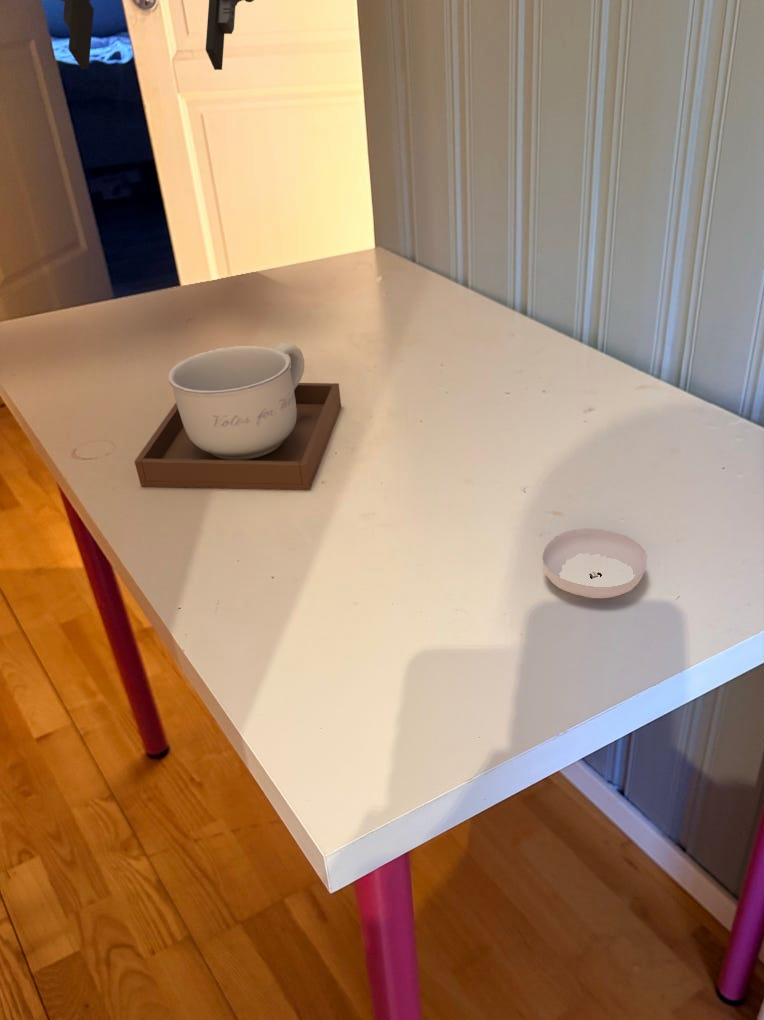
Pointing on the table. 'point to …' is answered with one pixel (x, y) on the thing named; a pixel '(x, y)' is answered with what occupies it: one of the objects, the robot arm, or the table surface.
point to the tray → (284, 468)
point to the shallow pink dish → (593, 544)
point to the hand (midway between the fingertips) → (146, 60)
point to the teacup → (238, 398)
